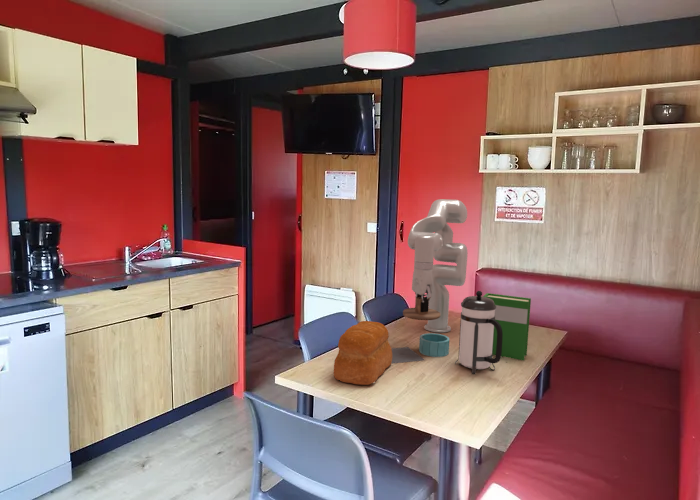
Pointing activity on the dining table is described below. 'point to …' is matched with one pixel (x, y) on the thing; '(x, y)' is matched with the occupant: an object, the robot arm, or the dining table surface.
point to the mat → (404, 355)
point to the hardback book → (512, 324)
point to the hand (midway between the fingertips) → (421, 309)
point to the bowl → (434, 345)
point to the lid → (418, 315)
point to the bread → (363, 353)
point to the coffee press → (478, 333)
